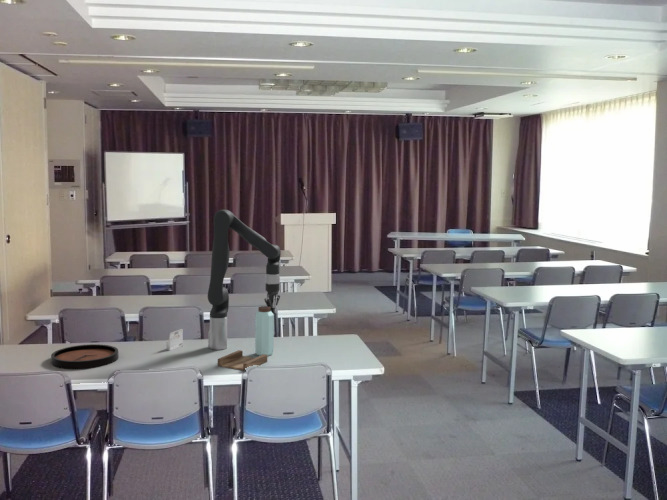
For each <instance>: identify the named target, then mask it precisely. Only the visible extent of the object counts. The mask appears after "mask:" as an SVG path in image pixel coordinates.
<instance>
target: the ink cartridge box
mask: <svg viewBox="0 0 667 500" xmlns="http://www.w3.org/2000/svg"><path fill="white" fill-rule="evenodd" d="M183 333H184V331H183V328H181V329H177V330H174V331H172V332H169V339H168V340H166V341H165V342H166V351H172V350H175V349H178V348H180V347H181V348H182V347H183V346H184V340H183V339H184V338H183Z"/></svg>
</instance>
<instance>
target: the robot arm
mask: <svg viewBox="0 0 667 500" xmlns="http://www.w3.org/2000/svg"><path fill="white" fill-rule="evenodd" d="M229 229H230V230H233V231H234V232H236V234H238V235H239V236H240V237H241V238H242V239H243V240H244V241H245V242H247V243H248V244H249V245H251V246H252V247H254V248H256V249H257V250H258V251H260V253H261V254H262V255H264V256H265V257H266V258H267V263H266V266H265V267H266V268H265V288H264V289H265V292H267V293H266V298H264V299H263V300H264V302H265V304H266V306H268V307H271V312H272V313H273V314H274V315H275V313H276V306H277V305H278V304H279V301H280V298H281V295H279V294H278V293H279V292H280V287H281V285H280V284H281V283H280V279H281V277H280V261H281V255H282V254H281V248H280V246H279V245H277V244H275V243H274V244H272V243H270V242H269V241H267V239H266V238H265V237H264V236H263V235H261V234H259V232H258V231H257V232H256V231H255V230H254V229H252V228H251V227H249V226H247V225H246V224H245V223H244V222H242V221H241V220H240V219H239V218H238V217H237V216H236V215H234V213H233V212H232V211H230V209H229V210H228V209H220V210H219V209H218V210H217V211H216V212H215V214H214V215H213V240H212V252H211V263H210V265H211V266H210V276H209V277H210V279H209V287H208V291H207V300H208V303H209V304H210V305H212V308H211V310H210V311H209V330H208V332H207V333H208V336H207V337H208V338H207V339H208V341H207V344H208V345H207V348H208V349H211V350H218V351H219V350H225V349H227V348H228V312H229V307H230V306H229V305H230V304H229V303H230V301H229V300H230V297H229V296H230V295H229V292H228V289H227V288H226V287H225V286H224V280H225V276H226V274H227V271H228V268H229V263H230V247H229V246H230V245H229V240H228V238H229V237H228V236H229V235H228V233H229Z"/></svg>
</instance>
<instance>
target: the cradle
mask: <svg viewBox="0 0 667 500" xmlns="http://www.w3.org/2000/svg"><path fill="white" fill-rule="evenodd" d="M243 353H244V352H243V350H239V349H237V350H236V351H234V352H231V353H229V354H227V355H224V356H221V357H219V358H217V366H218V367H223V368H228V369H235V370H238V371H239V370H240V371H244V370H245V368H247V367H249V366H253V365H259V366H261V365H263V364H265V363H267V362H268V356H267V355H265V354H263V355H261V356H259V355H257V356H256V357H252V356H245V355H244V354H243Z"/></svg>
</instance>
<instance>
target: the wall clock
mask: <svg viewBox="0 0 667 500" xmlns="http://www.w3.org/2000/svg"><path fill="white" fill-rule="evenodd" d="M119 357H120V356H119V349H118V348H117V347H116V346H112V345H107V344H99V343H96V344H93V343H92V344H80V345H73V346H69V347H63V348H60V349H58V350H56V351H54V352H52V353H51V354H50V364H51V365H52V366H53V367H55V368H58V369H64V370H65V369H66V370H86V369H88V370H89V369H95V368H99V367H105V366H108V365H110V364H113V363H115V362H117V361H118V360H119Z"/></svg>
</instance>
